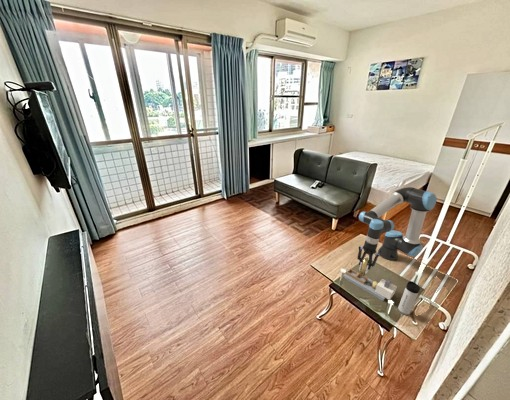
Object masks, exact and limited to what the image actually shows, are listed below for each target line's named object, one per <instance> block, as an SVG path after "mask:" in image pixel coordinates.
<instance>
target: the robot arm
mask: <svg viewBox="0 0 510 400" xmlns="http://www.w3.org/2000/svg"><path fill="white" fill-rule="evenodd" d="M402 203H408V204H410V207H409V208H410V209H411V213H410V217H409V220H408V225H407V228H406V233H405V235H404V234H403V232H401V231H398V230H394V229H395V223H394V222H393V220H390V219H383V218H381V217H382V216H384V215H385V214H386V213H387V212H389V211H390V210H392V209H393V208H394V207H396V206H397V205H399V204H402ZM436 203H437V195H436V194H435V193H433V192H431V191H427V190H423V189H420V188H417V187H411V186H406V187H403V188H399V189H397V190H395V191H393V192H392V193H391V194H390V196H389V197H387V198H386V199H383V201H381V202H380V203H379V204H377V205H376V206H375V207H372V209H370V210H369V211H361V212H360V213H359V215H358V221H360V222H362V223H364V224H366V225H368V230H367V234H366V236H365V241H364V245H363V246H362V245H359V246H358V253H357V260H359V262H358V266H359V267H358V270H359V271H360V270H361V266H362V263H363V259H364V258H366V255H368V260H369V264H368V265H367V268H366V271H365V273H366V274H367V273H368V272H369V270H371V267H372V268H374V267H375V265H376V263H377V261H378V259H379V257H381V258H383V259H384V260H387V261H396V260H398V258H399V257H398V256H399V253H398V252H399V251H400V252H402V253H404V254H406V255H407V256H410V257H412V258H415V257H417V256H418V255H419V254H420V253H421V252H422V250H423V248H424V246H423V245H422V244H421V239H420V236H421V234H422V230H423V226H424V222H425V219H426V215H427V213H428V212H430V211H432V210H433V209H434V208H435V206H436ZM382 234H384V237H383V242H382V244H381V246H380V247H379V248H378V244H379V241H380V237H381V235H382ZM377 248H378V250H377ZM362 252H363V254H362ZM373 256H374V258H373Z"/></svg>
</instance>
